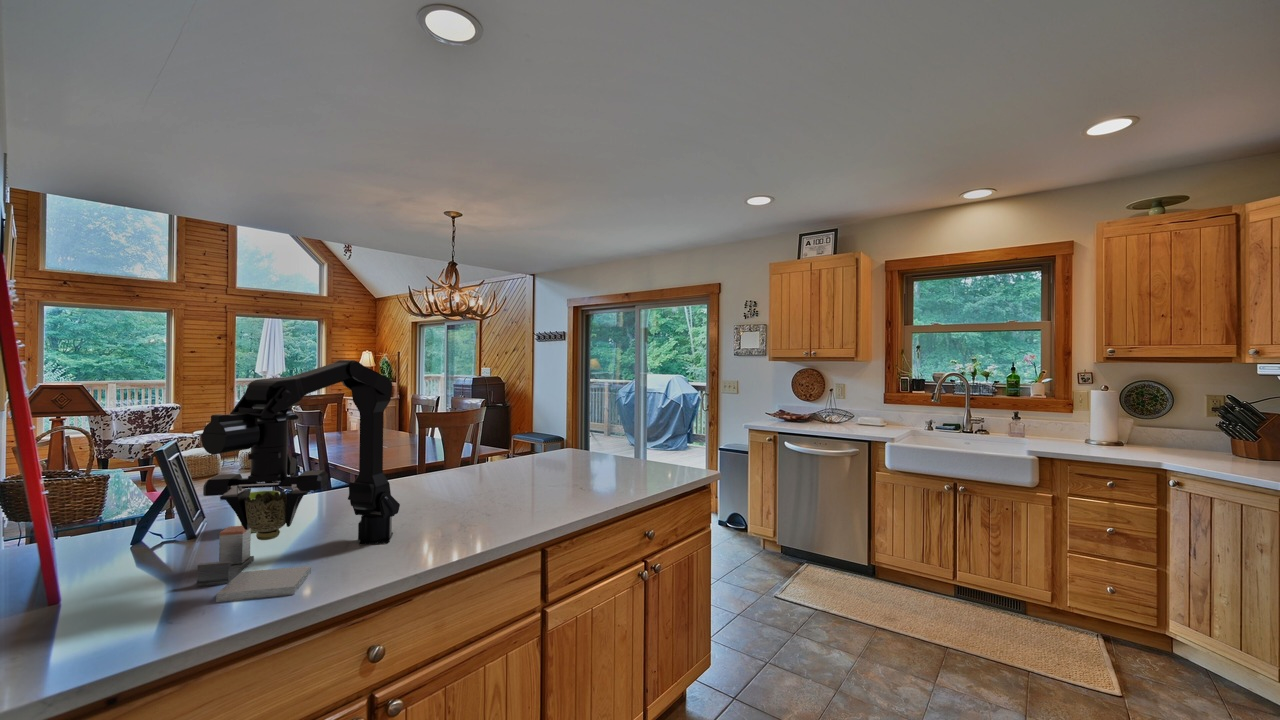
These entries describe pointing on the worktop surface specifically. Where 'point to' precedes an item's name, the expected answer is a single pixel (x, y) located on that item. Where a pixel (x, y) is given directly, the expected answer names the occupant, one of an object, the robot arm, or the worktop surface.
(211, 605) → the worktop surface
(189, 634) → the worktop surface
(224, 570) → the press rail
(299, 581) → the flat plate
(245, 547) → the small box
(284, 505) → the cup
